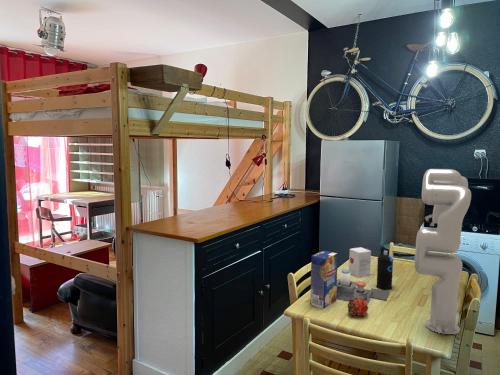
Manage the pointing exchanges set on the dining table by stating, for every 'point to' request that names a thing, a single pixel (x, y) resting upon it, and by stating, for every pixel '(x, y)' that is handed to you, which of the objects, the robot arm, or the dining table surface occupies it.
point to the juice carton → (323, 279)
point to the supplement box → (359, 262)
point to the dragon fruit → (357, 306)
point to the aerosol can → (384, 272)
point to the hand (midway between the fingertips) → (442, 234)
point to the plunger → (360, 286)
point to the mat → (380, 294)
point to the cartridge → (345, 277)
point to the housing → (351, 292)
